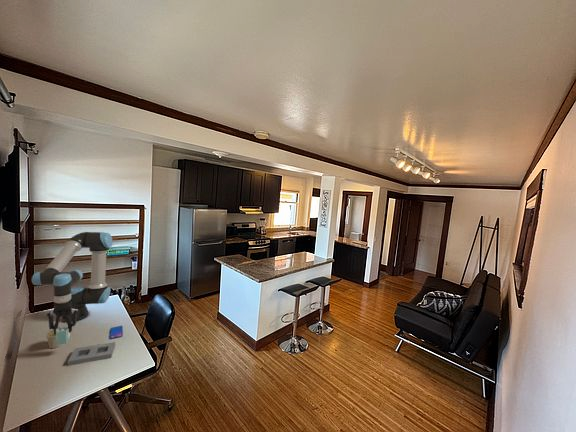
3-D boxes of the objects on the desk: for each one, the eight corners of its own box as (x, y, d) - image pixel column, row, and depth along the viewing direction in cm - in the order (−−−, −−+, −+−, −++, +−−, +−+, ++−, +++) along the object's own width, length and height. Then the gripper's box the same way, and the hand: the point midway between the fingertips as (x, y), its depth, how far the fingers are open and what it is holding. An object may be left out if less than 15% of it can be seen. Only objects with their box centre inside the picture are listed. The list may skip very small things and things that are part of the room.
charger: (59, 340, 145) (59, 327, 144) (68, 339, 147) (68, 326, 146) (57, 344, 141) (57, 331, 140) (66, 343, 143) (66, 329, 142)
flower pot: (60, 339, 156) (60, 326, 155) (70, 343, 153) (70, 330, 153) (41, 347, 147) (41, 334, 147) (51, 352, 145) (51, 338, 144)
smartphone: (122, 325, 176) (122, 336, 164) (122, 326, 176) (122, 337, 164) (110, 327, 172) (109, 338, 160) (110, 329, 172) (109, 340, 160)
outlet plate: (75, 352, 146) (75, 348, 146) (115, 345, 155) (115, 341, 155) (67, 365, 135) (67, 361, 135) (111, 357, 144) (111, 353, 144)
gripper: (39, 305, 134) (40, 344, 137) (79, 301, 142) (79, 339, 144) (45, 299, 141) (46, 336, 143) (83, 296, 148) (83, 331, 151)
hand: (63, 337), depth 144 cm, fingers closed on charger, 4 cm apart
